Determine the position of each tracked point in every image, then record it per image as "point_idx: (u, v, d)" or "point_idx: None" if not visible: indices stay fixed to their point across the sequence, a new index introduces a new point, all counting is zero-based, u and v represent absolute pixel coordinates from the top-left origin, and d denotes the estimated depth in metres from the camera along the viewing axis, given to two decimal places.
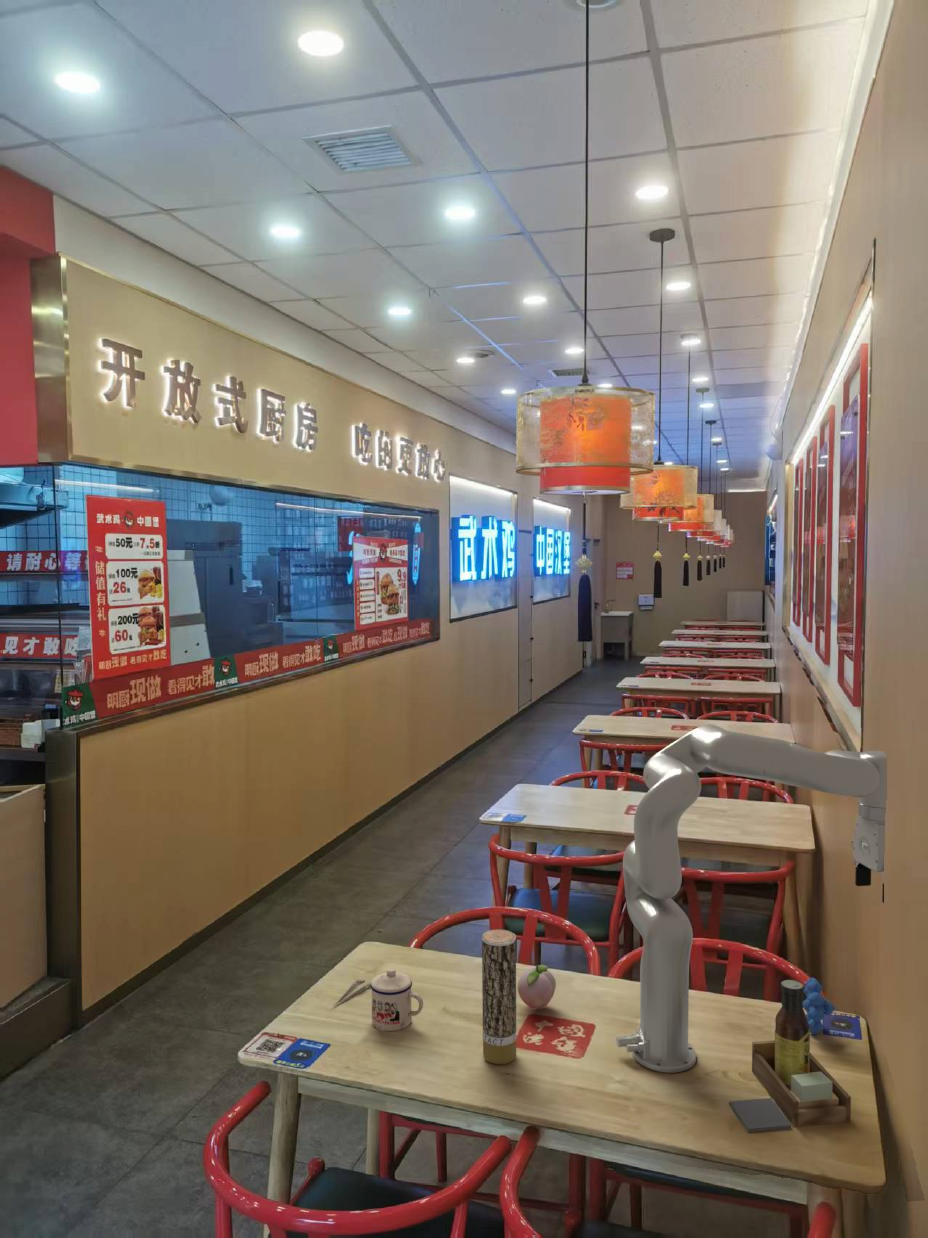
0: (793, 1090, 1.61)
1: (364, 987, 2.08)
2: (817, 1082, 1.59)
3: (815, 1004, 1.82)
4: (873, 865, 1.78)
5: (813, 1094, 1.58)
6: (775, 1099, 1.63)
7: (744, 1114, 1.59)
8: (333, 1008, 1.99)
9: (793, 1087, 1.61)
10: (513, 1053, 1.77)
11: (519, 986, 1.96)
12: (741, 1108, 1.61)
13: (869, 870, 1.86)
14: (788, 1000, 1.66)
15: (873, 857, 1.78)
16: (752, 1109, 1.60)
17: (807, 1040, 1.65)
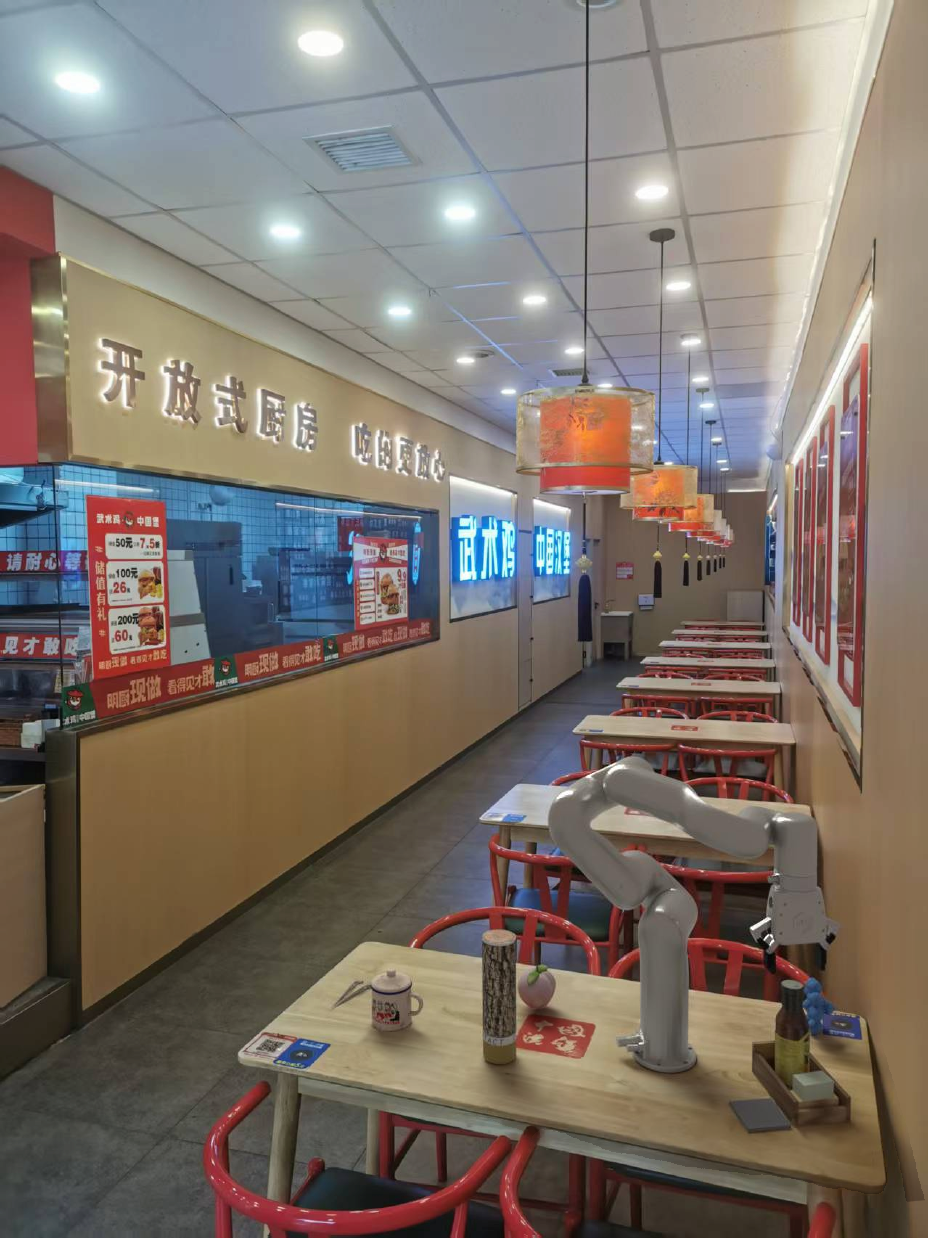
0: (795, 1089, 1.61)
1: (362, 988, 2.07)
2: (818, 1081, 1.59)
3: (815, 1004, 1.82)
4: (818, 936, 1.64)
5: (814, 1094, 1.58)
6: (775, 1099, 1.63)
7: (744, 1114, 1.59)
8: (331, 1009, 1.99)
9: (794, 1087, 1.61)
10: (513, 1053, 1.77)
11: (519, 986, 1.96)
12: (741, 1108, 1.61)
13: None
14: (788, 1000, 1.66)
15: (818, 928, 1.64)
16: (752, 1109, 1.60)
17: (807, 1040, 1.65)
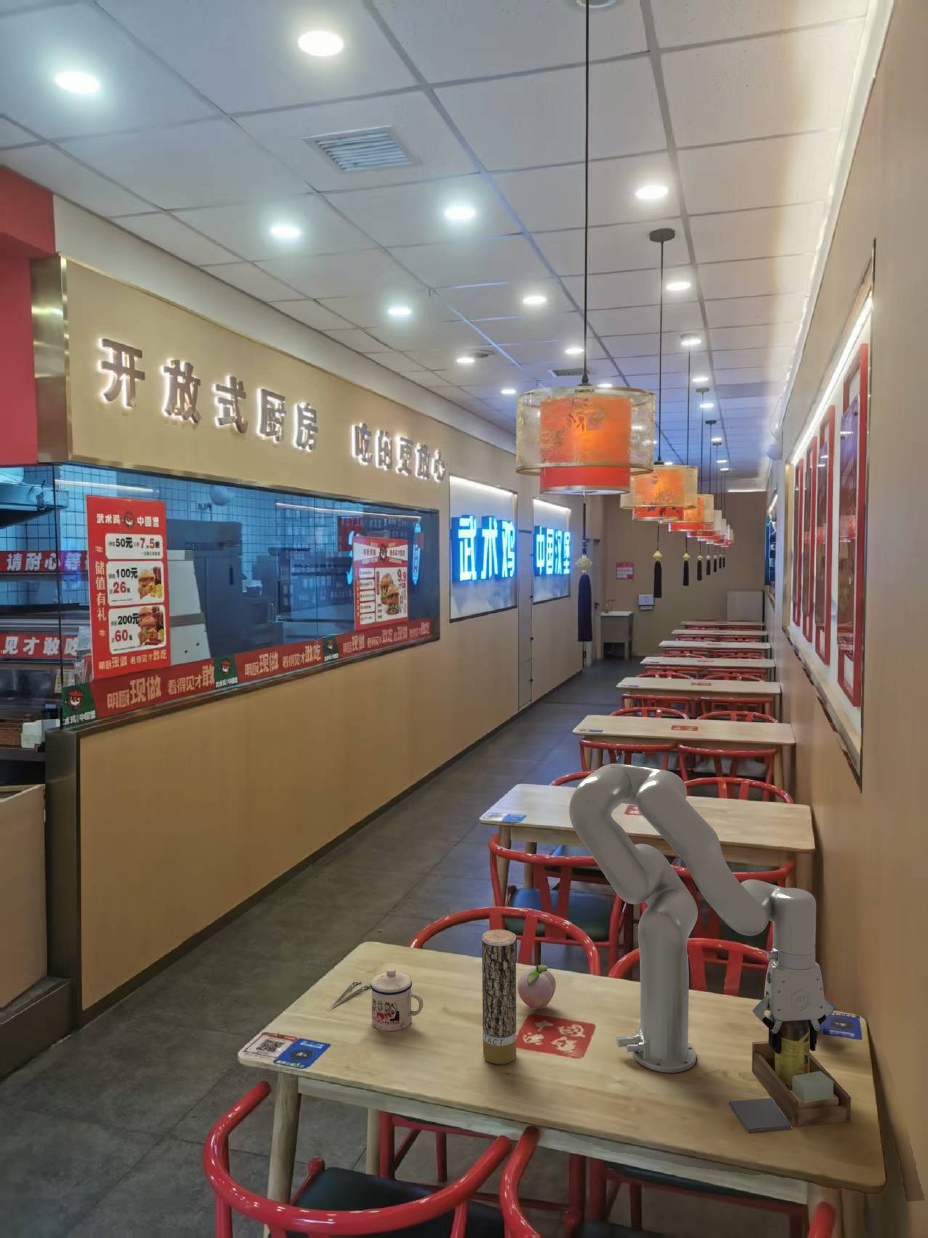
0: (794, 1091, 1.60)
1: (361, 989, 2.07)
2: (818, 1082, 1.59)
3: None
4: (816, 1013, 1.65)
5: (815, 1095, 1.58)
6: (775, 1099, 1.63)
7: (744, 1114, 1.59)
8: (329, 1010, 1.98)
9: (794, 1088, 1.60)
10: (513, 1053, 1.77)
11: (519, 986, 1.96)
12: (741, 1108, 1.61)
13: None
14: None
15: (816, 1004, 1.65)
16: (752, 1109, 1.60)
17: (807, 1040, 1.65)
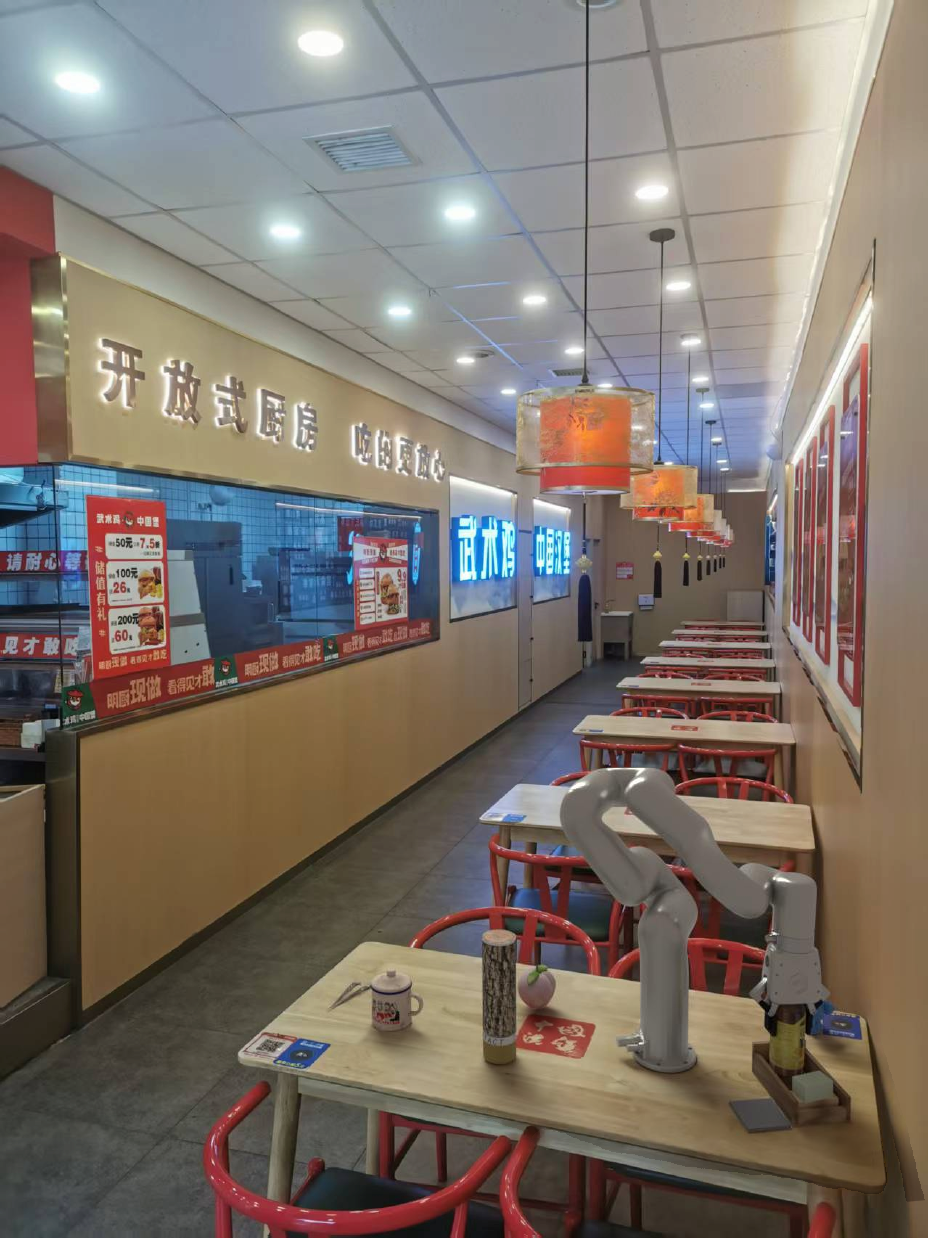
0: (795, 1091, 1.60)
1: (360, 989, 2.07)
2: (818, 1082, 1.59)
3: None
4: (813, 997, 1.65)
5: (815, 1094, 1.58)
6: (775, 1099, 1.63)
7: (744, 1114, 1.59)
8: (329, 1010, 1.98)
9: (794, 1089, 1.60)
10: (513, 1053, 1.77)
11: (519, 986, 1.96)
12: (741, 1108, 1.61)
13: None
14: None
15: (813, 989, 1.65)
16: (752, 1109, 1.60)
17: (803, 1024, 1.65)
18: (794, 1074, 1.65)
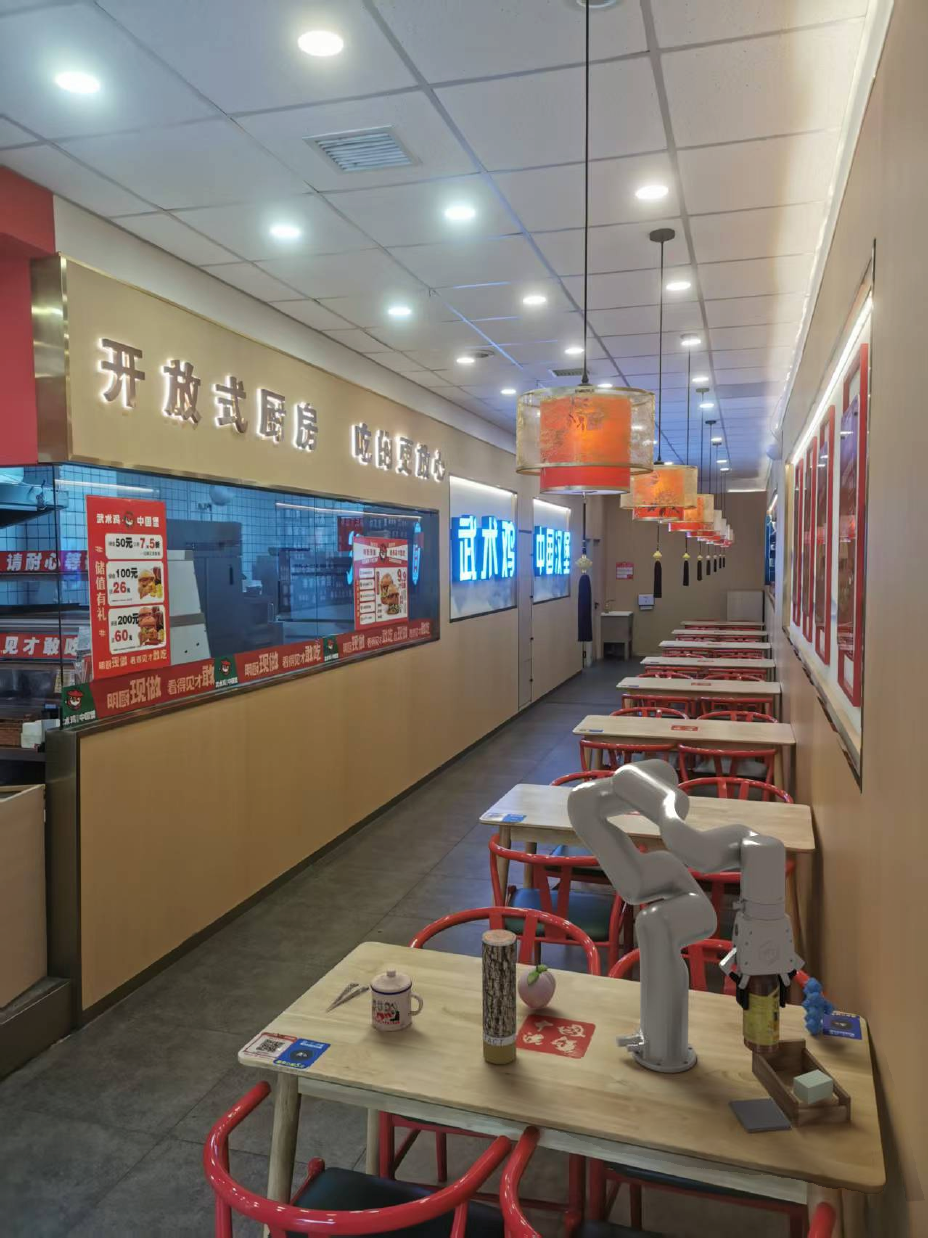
0: (796, 1092, 1.60)
1: (358, 990, 2.06)
2: (819, 1081, 1.59)
3: (815, 1004, 1.82)
4: (786, 967, 1.55)
5: (817, 1094, 1.58)
6: (775, 1099, 1.63)
7: (744, 1114, 1.59)
8: (326, 1012, 1.98)
9: (796, 1090, 1.60)
10: (513, 1053, 1.77)
11: (519, 986, 1.96)
12: (741, 1108, 1.61)
13: None
14: None
15: (785, 958, 1.55)
16: (752, 1109, 1.60)
17: (776, 996, 1.55)
18: (769, 1050, 1.55)
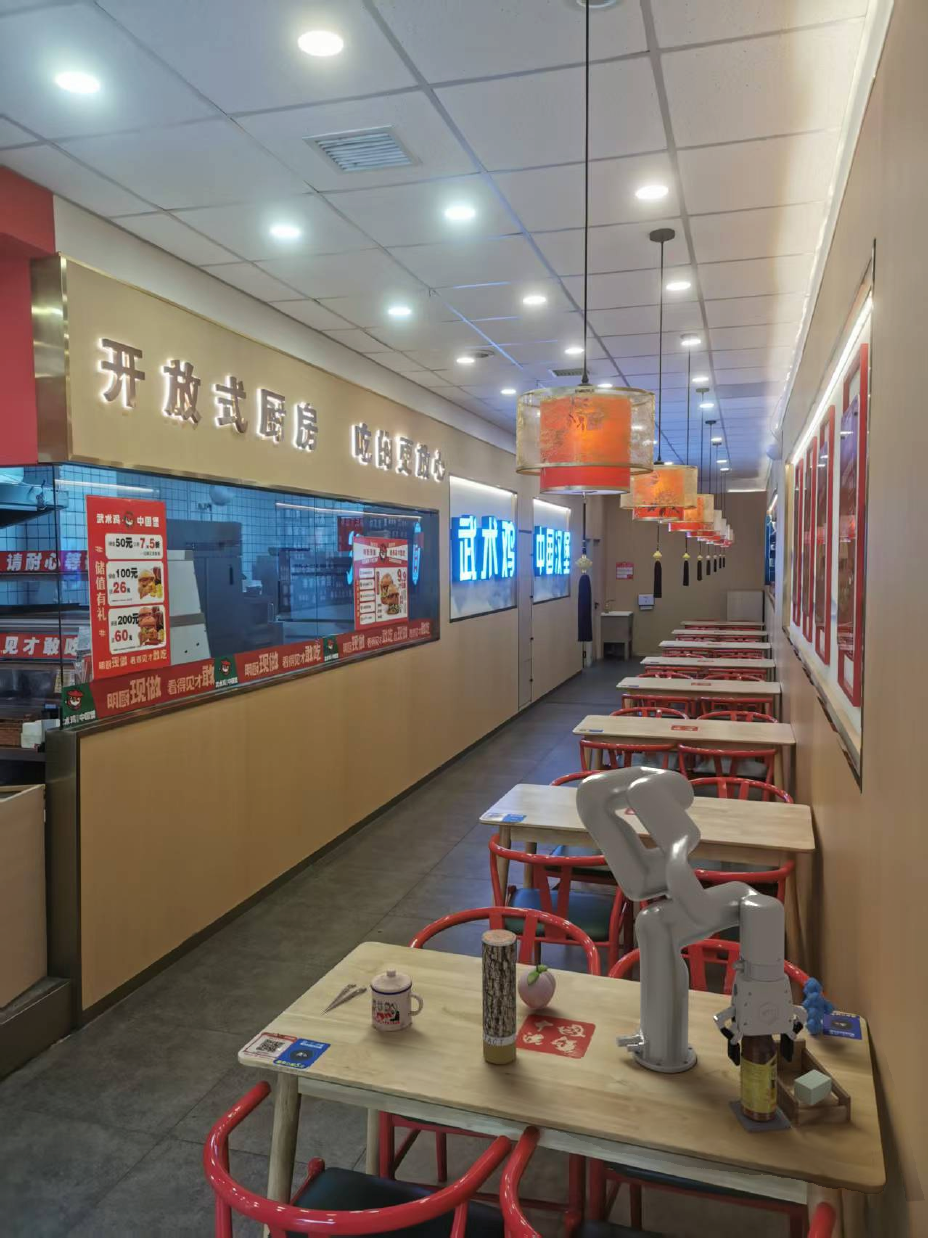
0: (797, 1094, 1.59)
1: (355, 991, 2.06)
2: (819, 1081, 1.59)
3: (815, 1004, 1.82)
4: (785, 1027, 1.56)
5: (818, 1095, 1.58)
6: None
7: (744, 1114, 1.59)
8: (324, 1013, 1.97)
9: (797, 1092, 1.59)
10: (513, 1053, 1.77)
11: (519, 986, 1.96)
12: None
13: None
14: None
15: (784, 1018, 1.56)
16: None
17: (774, 1064, 1.56)
18: (766, 1117, 1.56)
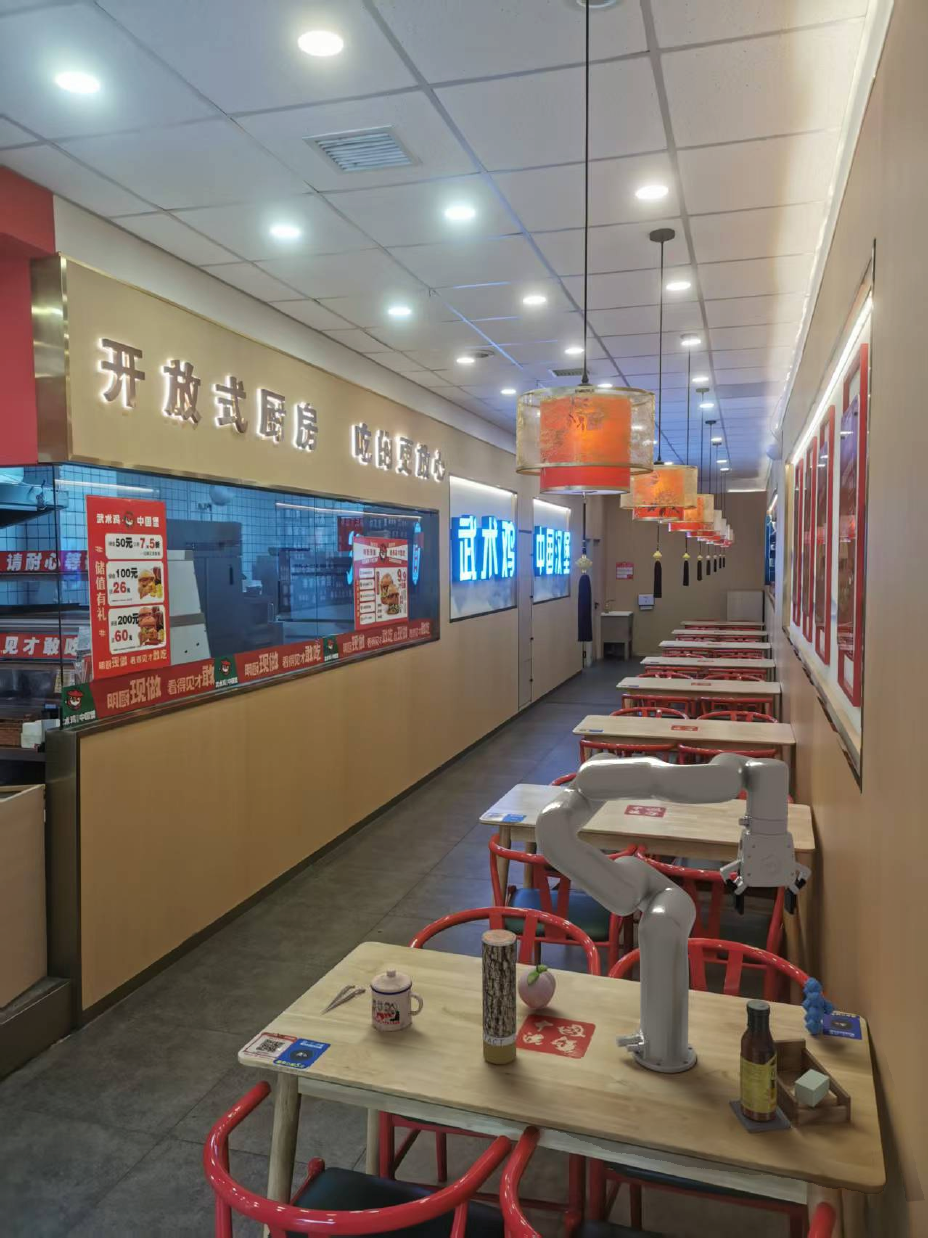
0: (798, 1096, 1.59)
1: (354, 992, 2.05)
2: (819, 1081, 1.59)
3: (815, 1004, 1.82)
4: (787, 880, 1.66)
5: (819, 1095, 1.58)
6: None
7: None
8: (322, 1014, 1.97)
9: (798, 1094, 1.59)
10: (513, 1053, 1.77)
11: (519, 986, 1.96)
12: None
13: None
14: (754, 1021, 1.57)
15: (787, 871, 1.66)
16: None
17: (773, 1064, 1.56)
18: (766, 1117, 1.56)
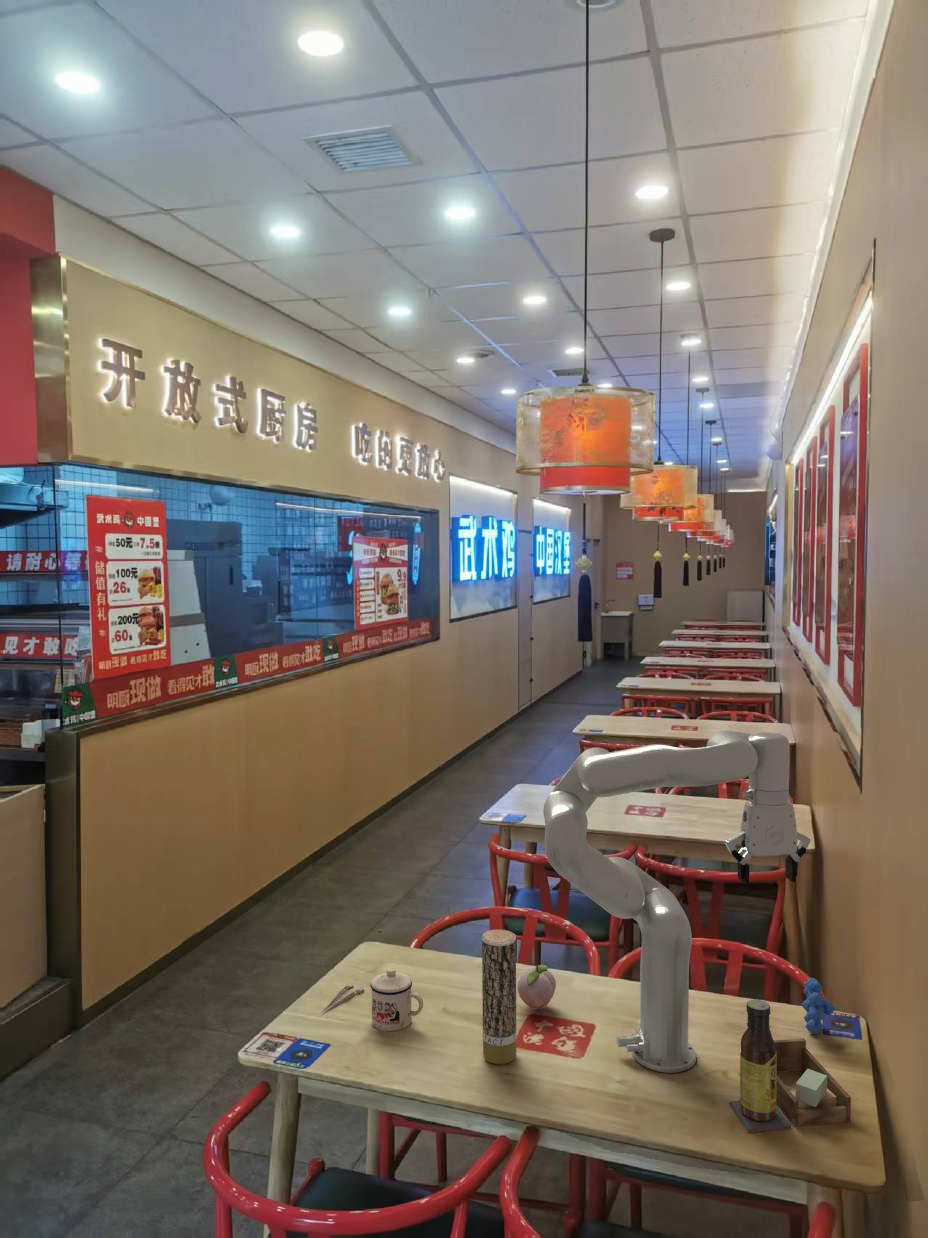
0: (800, 1097, 1.58)
1: (353, 993, 2.05)
2: (818, 1081, 1.59)
3: (815, 1004, 1.82)
4: (790, 848, 1.73)
5: (819, 1095, 1.58)
6: None
7: None
8: None
9: (799, 1095, 1.58)
10: (513, 1053, 1.77)
11: (519, 986, 1.96)
12: None
13: None
14: (754, 1021, 1.57)
15: (789, 840, 1.73)
16: None
17: (774, 1064, 1.56)
18: (766, 1117, 1.56)
